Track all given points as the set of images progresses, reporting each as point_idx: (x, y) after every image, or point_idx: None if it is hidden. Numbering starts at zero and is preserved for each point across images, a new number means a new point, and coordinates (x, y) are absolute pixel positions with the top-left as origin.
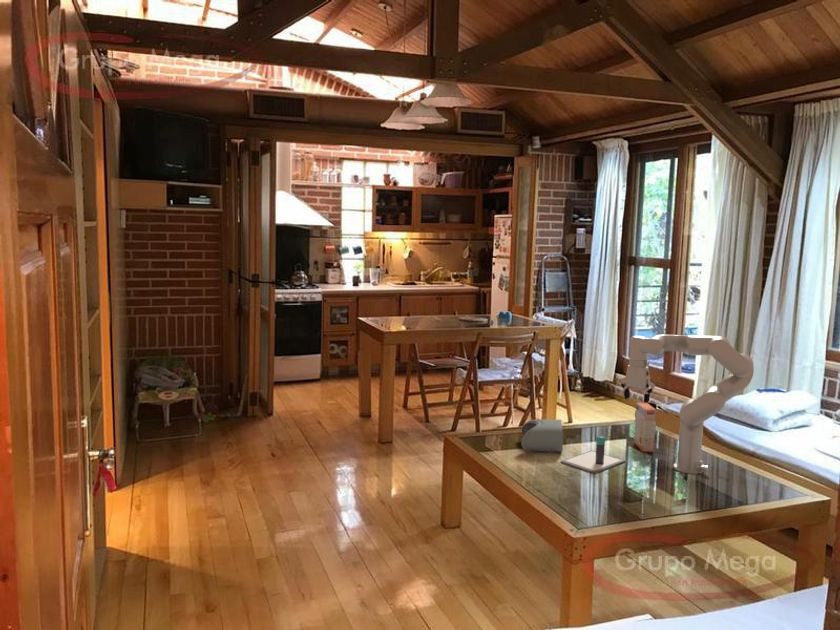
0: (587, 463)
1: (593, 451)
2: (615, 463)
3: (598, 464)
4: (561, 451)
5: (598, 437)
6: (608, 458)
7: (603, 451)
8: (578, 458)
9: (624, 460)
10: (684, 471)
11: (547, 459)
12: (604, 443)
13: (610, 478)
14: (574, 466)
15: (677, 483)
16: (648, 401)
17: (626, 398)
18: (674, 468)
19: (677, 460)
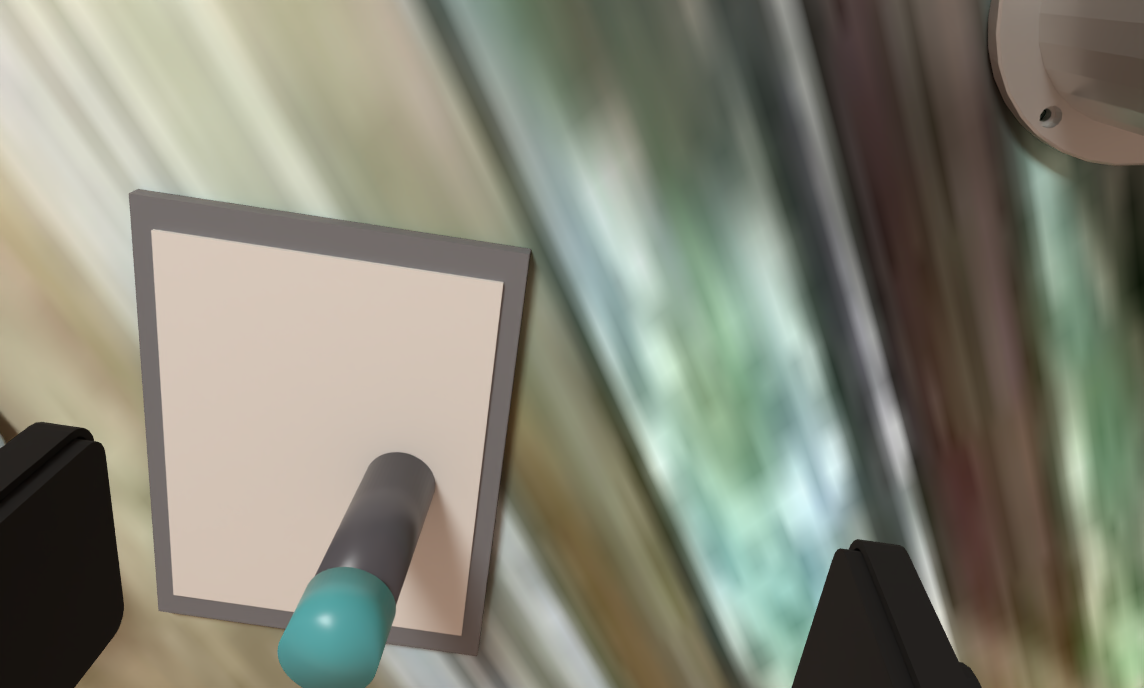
0: None
1: (162, 214)
2: (499, 390)
3: None
4: (1, 445)
5: (312, 676)
6: (388, 322)
7: (409, 563)
8: (210, 490)
9: (523, 257)
10: (1131, 163)
11: None
12: (392, 617)
13: (608, 651)
14: None
15: (1088, 446)
16: (895, 556)
17: (117, 608)
18: (1014, 114)
19: (1072, 62)
